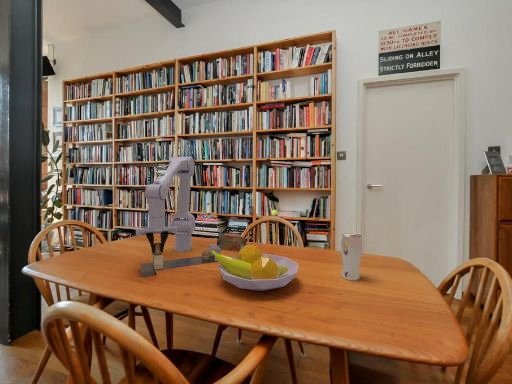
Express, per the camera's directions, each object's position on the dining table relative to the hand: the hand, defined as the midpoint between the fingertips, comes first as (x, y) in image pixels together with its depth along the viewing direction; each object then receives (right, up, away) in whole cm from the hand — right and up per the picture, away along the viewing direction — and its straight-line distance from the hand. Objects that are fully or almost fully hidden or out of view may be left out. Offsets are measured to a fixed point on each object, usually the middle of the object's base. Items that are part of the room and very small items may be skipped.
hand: (157, 252), depth 100 cm
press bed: (+8, -7, +5) cm, 11 cm away
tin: (+26, -6, +23) cm, 35 cm away
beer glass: (+70, -8, -6) cm, 71 cm away
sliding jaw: (0, -5, 0) cm, 5 cm away
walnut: (+17, -5, +9) cm, 19 cm away
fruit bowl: (+37, -8, -10) cm, 39 cm away
